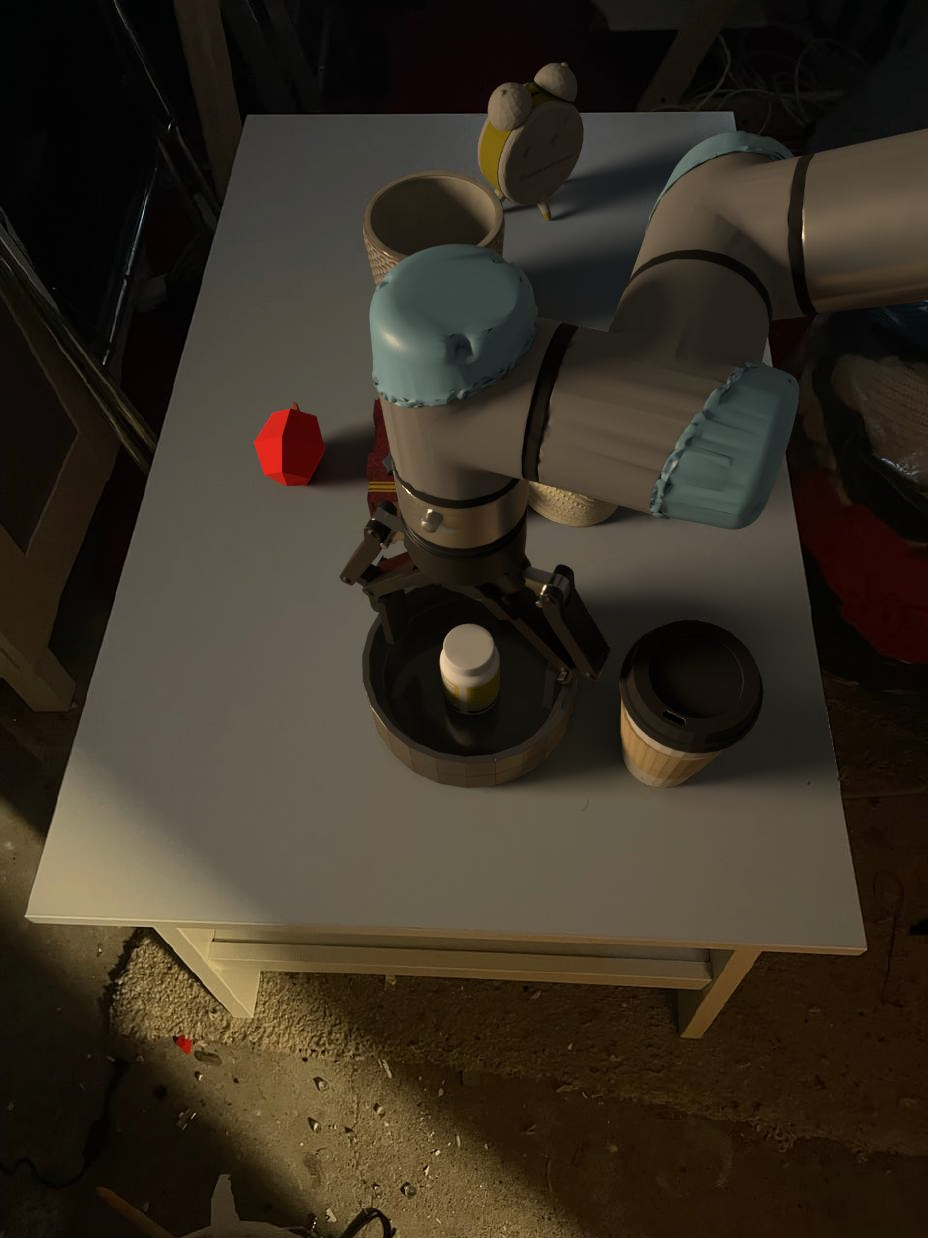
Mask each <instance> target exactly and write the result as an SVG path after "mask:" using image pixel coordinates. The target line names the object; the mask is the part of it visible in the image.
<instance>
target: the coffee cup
mask: <svg viewBox="0 0 928 1238" xmlns="http://www.w3.org/2000/svg"><path fill="white" fill-rule="evenodd" d="M618 677H619V678H618V679H619V680H618V681H619V693H620V697H621V705H620V706H621V707H620V740H621V756H622V759H623V763H624V764H625V766H626V769H627V770H628V771H629V772H630V774H631V775H632V776H633V777H634V778H635V779H636V780H638V781H640V782H641V783H643V784H645V785H647V786H650V787H654V788H660V789H661V788H662V789H667V788H673V787H676V786H678V785H681V784H682V783H684V782H685V781H687V780H688V779H689V778H691V776H693V775H695V774H697V773H698V772H700V771H701V770H702V769H704V767H706V765H708V764H709V763H710V762H711V761H713V760H714V759H715V758H716V757H717V756H719V755H720V754H721V753H722V752H723V751H725V750H726V749H728V748H731V747H732V746H734V745H735V744H738V743H739V742H740V741H742V740H743V739H744V738H745V737H747V735H748V734H749V733H750V732H751V731H752V730H753V728H754V726H755V725H756V723H757V721H758V720H759V717H760V714H761V711H762V709H763V703H764V685H763V677H762V675H761V672H760V669H759V666H758V664H757V661H756V660H755V658H754V656H753V654H752V652H751V651H750V649H749V647H747V646H746V644H745V643H744V642H743V641H742V640H741V639H740V638H738V637H737V636H736V635H735V634H734V633H733V632H732V631H729V630H727V629H726V628H724V627H722V626H721V625H718V624H715V623H713V622H709V621H706V620H701V619H681V620H675V621H674V620H673V621H671V622H667V623H664V624H662V625H658V626H656V627H654V628H652V629H651V630H649V631H647V632H645V633H644V634H642V635H641V637H639V638H638V639H637V640H636V641H635V642H634V643H633V644H632V646H631V647H630V648H629V650H628V651H627V653H626V654H625V656H624V659H623V661H622V664H621V666H620V671H619V676H618Z"/></svg>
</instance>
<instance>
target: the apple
mask: <svg viewBox="0 0 928 1238" xmlns="http://www.w3.org/2000/svg"><path fill="white" fill-rule="evenodd" d="M291 405H292V408H290V407H289V408H286V409H283V410H282V409H281V410H277V411H274V412H272V413H271V415H270V417H269V418H268V420H267V421H266V423H264V426H263V427H262V429H261V431H259V433H258V435H257V437H256V438H255V440H254V441H253V445H254V448H255V451H256V454H257V456H258V459H259V462H260V466H261V469H262V472H263V475H264V476H265V477H267V478H270V479H271V480H273V481H275V482H276V483H279V484H281V485H283V486H286V487H298V486H299V487H302V486H303V487H304V486H307V485H308V483H309V482H310V480H311V478H312V477H313V475H314V474H315V472H316V470H317V468H318V467H319V465H320V463H321V461H322V459H323V455H324V452H325V450H326V446H325V443H324V439H323V436H322V432H321V428H320V424H319V420H318V416H317V415H314V414H312V413H308V412H305V411H301V410H300V407H299V405H298V402H296V401H293V402H292V404H291Z"/></svg>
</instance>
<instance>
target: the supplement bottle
mask: <svg viewBox="0 0 928 1238" xmlns="http://www.w3.org/2000/svg"><path fill="white" fill-rule="evenodd" d="M440 668H441V675H442V682H443V689H444V695H445V698H446V701H447V702H448V704H449V705H450V706H451V707H452V708H453V709H454V710H455V711H457V712H459V713H462V714H465V715H478V714H482V713H484V712H486V711H488V710H489V709H490V708H492V707H493V705H494V704H495V703H496V701H497V699H498V696H499V692H500V657H499V653H498V650H497V648H496V646H495V644H494V640H493V638H492V636H491V634H490V633H489V632H488V631H487V630H486V629H485V628H483V627H481V626H479V625H475V624H463V625H460V626H457V627H455V628H454V629H452V630H451V631H450V632H449V633H448V635H447V636H446V638H445V640H444V644H443V650H442V652H441V656H440Z"/></svg>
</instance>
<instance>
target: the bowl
mask: <svg viewBox="0 0 928 1238" xmlns="http://www.w3.org/2000/svg"><path fill="white" fill-rule="evenodd" d="M404 591H405V596H406V601H407V606H408V611H409V616H410V619H409V621H408V623H407V625H406V626H405V628H404V630H403V632H402V634H401V635H400V637H399V639H398V641H397V642H396V644H395V645H393V644H390V643H388V642H386V638H385V634H384V630H383V626H382V622H381V619H380V615H379V613H378V614H377V616H376V618H375V619H374V620H373V623H372V624H371V626H370V628H369V629H368V632H367V634H366V635H367V636H366V638H365V642H364V646H363V649H362V655H361V669H362V670H361V671H362V672H361V673H362V674H361V675H362V684H363V689H364V691H365V694H366V699H367V701H368V704H369V708H370V710H371V714H372V716H373V720H374V723H375V725H376V729H377V732H378V734H379V736H380V737H381V739H382V740H383V742H384V743H385V745H386V746H387V748H388V750H390V752H391V754H392V755H393V756H394V757H396V759H397V760H399V761H400V762H401V763H402V764H404V765H405V766H406V767H407V768H408V769H410V771H412V772H413V773H415V774H417V775H419V776H421V777H424V778H426V779H428V780H430V781H433V782H435V783H437V784H440V785H445V786H451V787H456V788H457V787H458V788H463V789H476V788H485V787H496V786H499V785H501V784H505V783H508V782H510V781H513V780H516V779H519V778H521V777H523V776H525V775H526V774H527V773H529V772H530V771H531V770H533V769H535V768H536V767H538V766H539V765H540V764H541V763H543V762H544V761H545V760H546V759H547V758H548V757H549V756H550V754H551V753H552V752H553V751H554V750H555V748H556V747H558V745H559V744H560V743H561V741H562V739H563V737H564V735H565V733H566V730H567V728H568V726H569V724H570V722H571V719H572V716H573V711H574V707H575V706H574V705H575V701H576V697H577V691H578V685H579V680H580V679H579V678H580V673H579V674H578V677H577V679H576V681H575V683H574V685H573V687H572V688H571V689H568V688H566V687H562V689H561V691H560V693H559V695H558V698H557V700H556V702H555V704H554V706H553V709H552V710H551V709H549V708H546V707H544V706H543V700H544V689H545V678H546V669H547V667H548V665H549V663H550V661H549V660H548V659H547V658H546V657H545V656H544V655H543V654H542V653H541V652H540V651H539V650H538V649H537V648H536V647H535V646H534V645H533V644H532V643H531V642H530V641H529V640H528V639H527V638H526V637H525V636H524V635H523V634H522V633H521V632H520V631H519V630H518V629H517V628H516V627H515V626H514V625H513V624H512V623H511V622H510V621H509V620H499V619H498V618H497V617H496V616H495V615H494V614H493V613H492V612H491V611H490V610H489V609H488V608H487V607H486V606H485V605H484V604H483V603H482V602H480V601H477V600H475V599H472V598H470V597H469V596H467V595H465V594H463V593H459V592H455V591H451V590H449V589H446V588H443V587H442V584H438V585H436V584H431V585H427V586H424V587H421V588H417V587H416V586H414V585H413V586H410V587H407V588H404ZM505 598H506V596H505V597H503V598H501V599H502V600H503V601H504V600H505ZM463 624H475V625H479V626H481V627H483V628H485V629H486V630H487V631H488V632H489V633H490V634H491V636H492V638H493V640H494V644H495V646H496V648H497V650H498V653H499V657H500V692H499V696H498V699H497V701H496V703H495V704H494V705H493V707H492V708H490V709H489V710H488V711H486V712H484V713H482V714H478V715H465V714H462V713H459V712H457V711H455V710H454V709H453V708H452V707H451V706H450V705H449V704H448V702H447V701H446V698H445V695H444V689H443V682H442V675H441V668H440V656H441V652H442V650H443V644H444V640H445V638H446V636H447V635H448V633H449V632H450V631H451V630H452V629H454V628H455V627H457V626H460V625H463Z"/></svg>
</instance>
